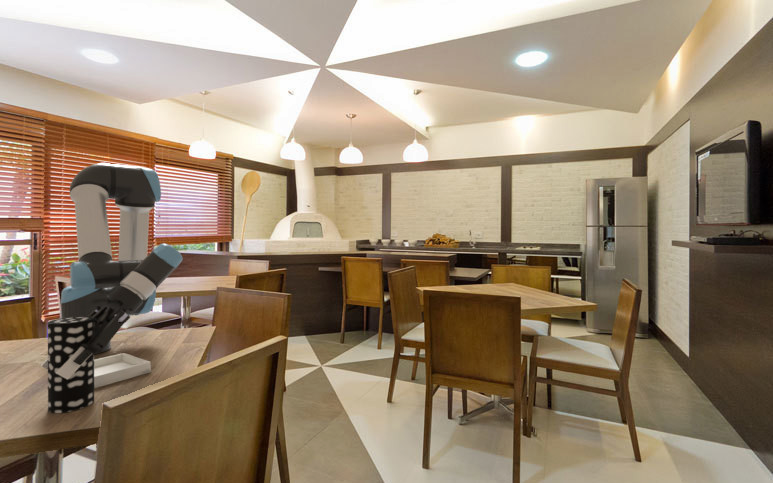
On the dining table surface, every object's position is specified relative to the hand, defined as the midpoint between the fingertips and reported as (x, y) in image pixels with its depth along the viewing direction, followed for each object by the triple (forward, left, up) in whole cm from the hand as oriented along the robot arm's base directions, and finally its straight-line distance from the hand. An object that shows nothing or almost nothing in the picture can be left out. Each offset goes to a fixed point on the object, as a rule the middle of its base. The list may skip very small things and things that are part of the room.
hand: (53, 372), depth 85 cm
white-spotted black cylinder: (0, +3, -9) cm, 9 cm away
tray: (-15, +16, -9) cm, 24 cm away
